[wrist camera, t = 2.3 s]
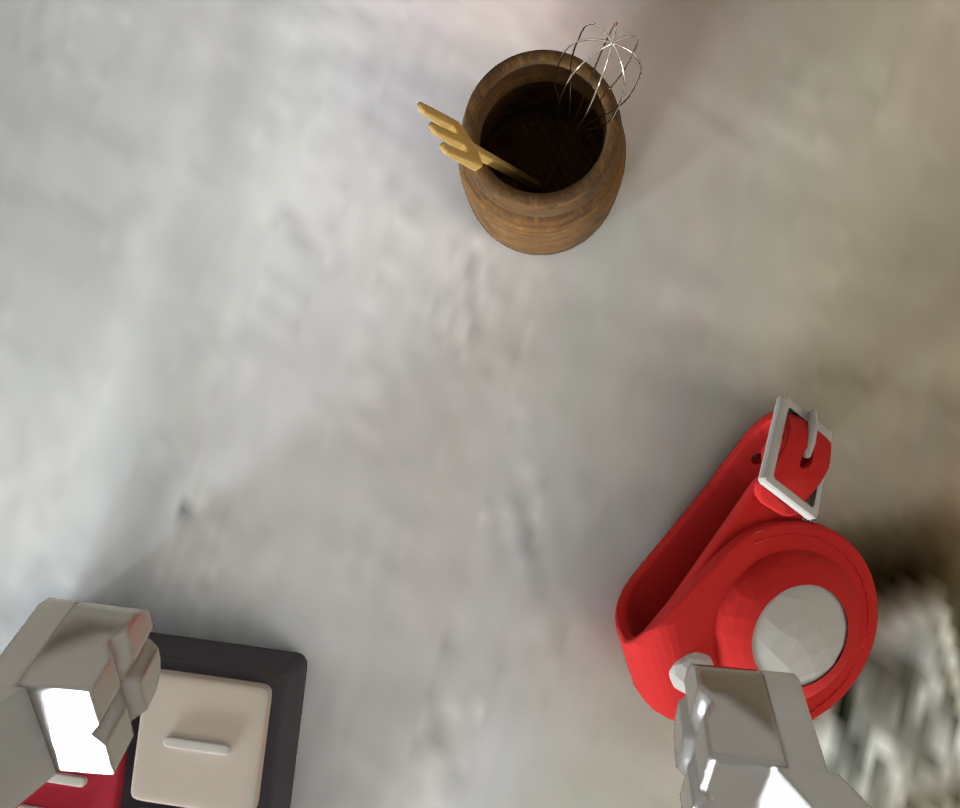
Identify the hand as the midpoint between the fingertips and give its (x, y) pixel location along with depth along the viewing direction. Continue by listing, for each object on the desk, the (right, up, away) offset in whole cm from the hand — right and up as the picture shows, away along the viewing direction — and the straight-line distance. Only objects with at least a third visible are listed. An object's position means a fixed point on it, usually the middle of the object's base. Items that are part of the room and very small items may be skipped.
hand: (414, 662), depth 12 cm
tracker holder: (+12, -3, +20) cm, 24 cm away
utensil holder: (+3, +13, +21) cm, 25 cm away
